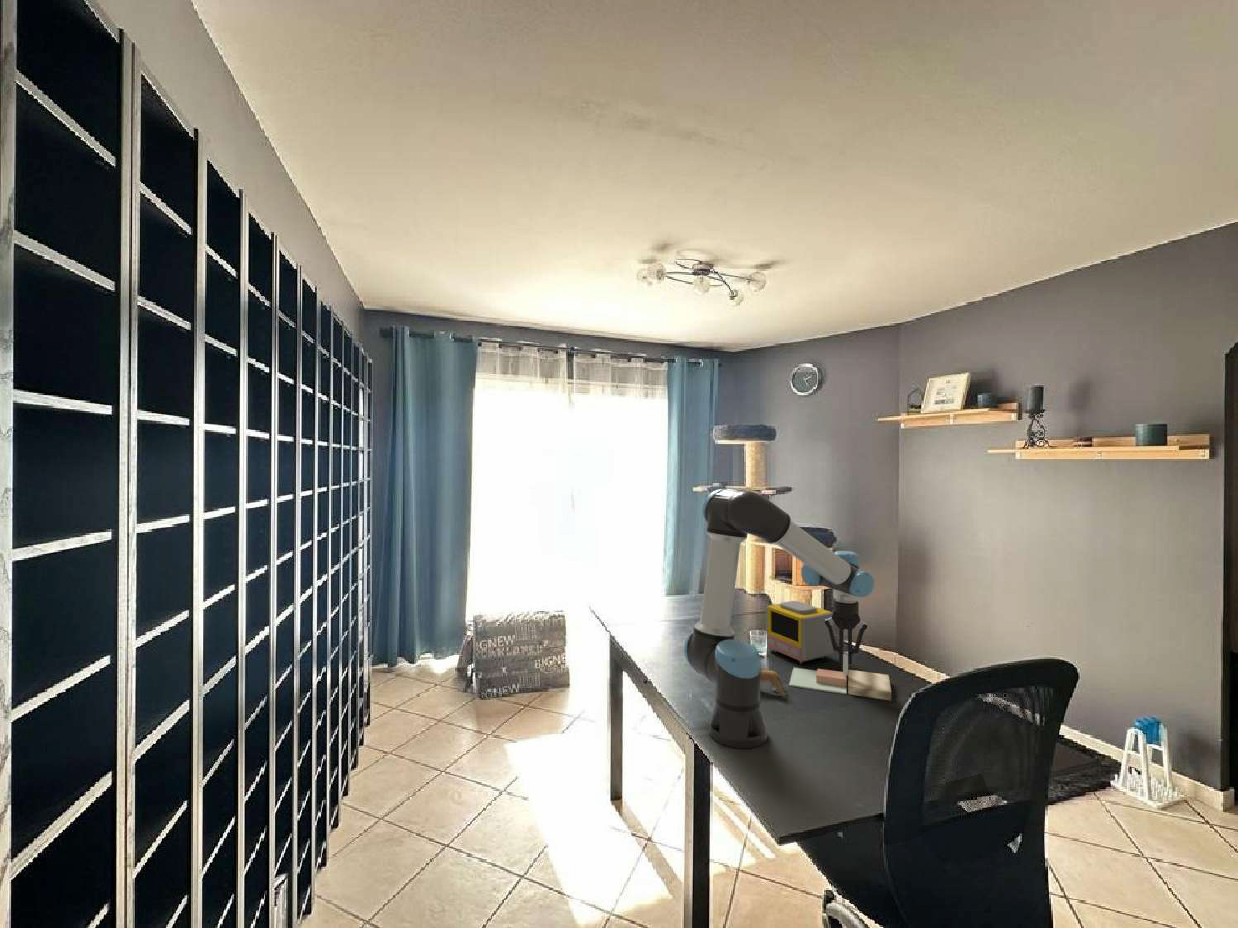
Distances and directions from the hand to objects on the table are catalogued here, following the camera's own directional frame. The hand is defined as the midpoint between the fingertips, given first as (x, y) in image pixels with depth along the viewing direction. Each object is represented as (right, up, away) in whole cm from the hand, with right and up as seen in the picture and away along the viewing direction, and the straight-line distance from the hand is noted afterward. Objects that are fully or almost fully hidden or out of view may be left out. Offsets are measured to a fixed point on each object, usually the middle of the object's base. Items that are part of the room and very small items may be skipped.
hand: (845, 673), depth 180 cm
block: (-4, -3, +2) cm, 5 cm away
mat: (-8, -4, +3) cm, 9 cm away
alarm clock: (-6, -4, +27) cm, 28 cm away
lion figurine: (-28, -4, -4) cm, 28 cm away
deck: (+6, -4, -2) cm, 8 cm away
